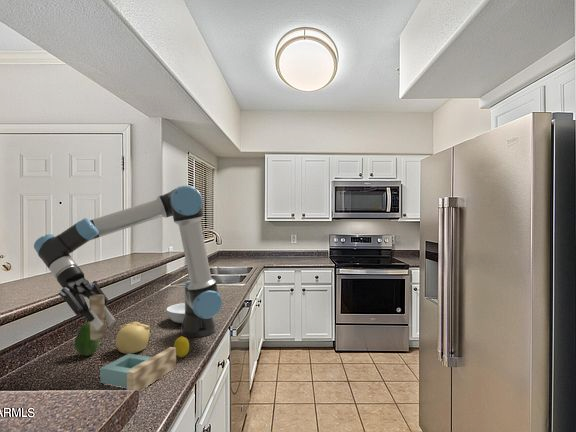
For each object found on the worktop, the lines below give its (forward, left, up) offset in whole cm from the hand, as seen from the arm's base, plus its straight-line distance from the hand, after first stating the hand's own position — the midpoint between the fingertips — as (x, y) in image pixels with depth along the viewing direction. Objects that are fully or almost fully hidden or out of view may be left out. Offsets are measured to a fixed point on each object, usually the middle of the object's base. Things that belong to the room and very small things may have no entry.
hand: (106, 324), depth 117 cm
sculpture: (-19, -7, -17) cm, 26 cm away
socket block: (0, +9, -16) cm, 19 cm away
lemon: (-19, +15, -17) cm, 30 cm away
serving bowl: (-58, -8, -17) cm, 61 cm away
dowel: (0, -4, -5) cm, 6 cm away
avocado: (-10, -20, -17) cm, 28 cm away
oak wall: (-1, +18, -16) cm, 24 cm away
